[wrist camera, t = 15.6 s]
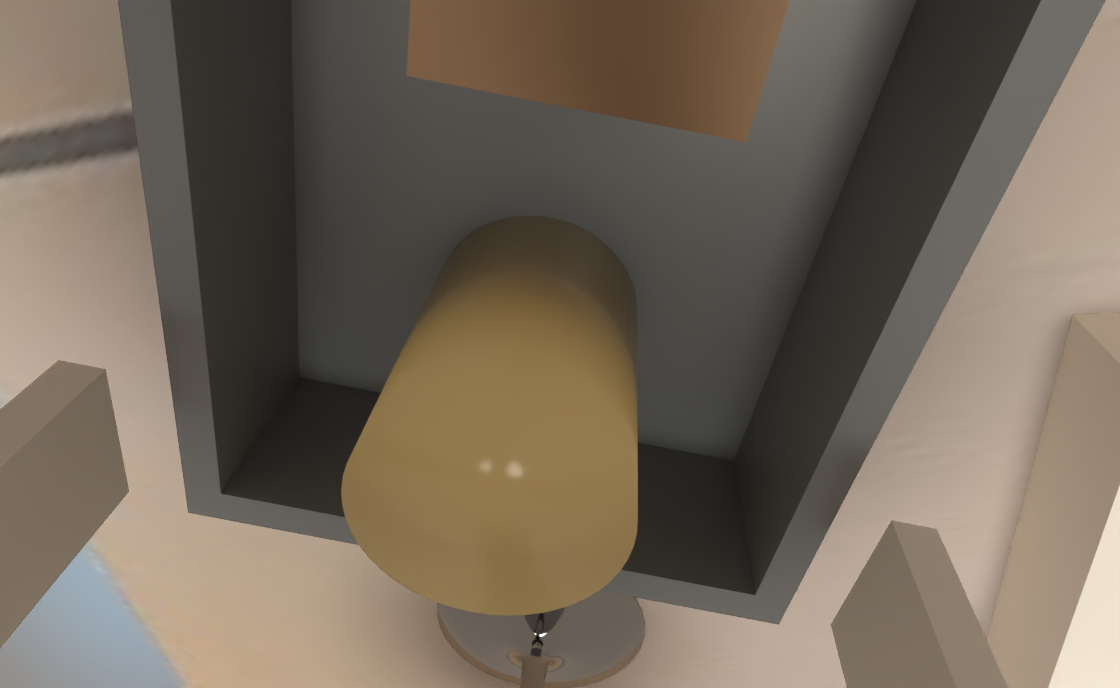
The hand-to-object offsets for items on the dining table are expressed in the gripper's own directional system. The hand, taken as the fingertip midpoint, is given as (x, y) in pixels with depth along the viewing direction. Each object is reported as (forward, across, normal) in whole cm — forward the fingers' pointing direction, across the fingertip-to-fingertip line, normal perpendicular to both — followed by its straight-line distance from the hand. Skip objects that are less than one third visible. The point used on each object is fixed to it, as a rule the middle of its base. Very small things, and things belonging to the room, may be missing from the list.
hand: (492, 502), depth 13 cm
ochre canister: (+7, 0, 0) cm, 7 cm away
